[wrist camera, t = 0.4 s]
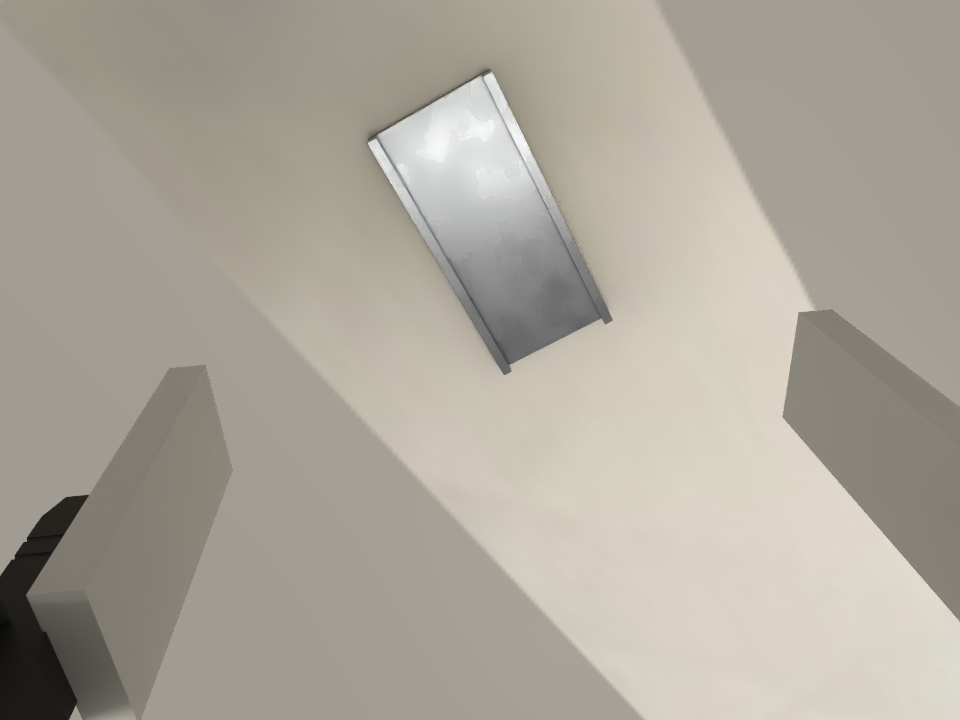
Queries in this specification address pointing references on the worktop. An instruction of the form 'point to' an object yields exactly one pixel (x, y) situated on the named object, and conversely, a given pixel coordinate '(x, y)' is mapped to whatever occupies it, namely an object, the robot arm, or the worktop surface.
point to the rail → (490, 220)
